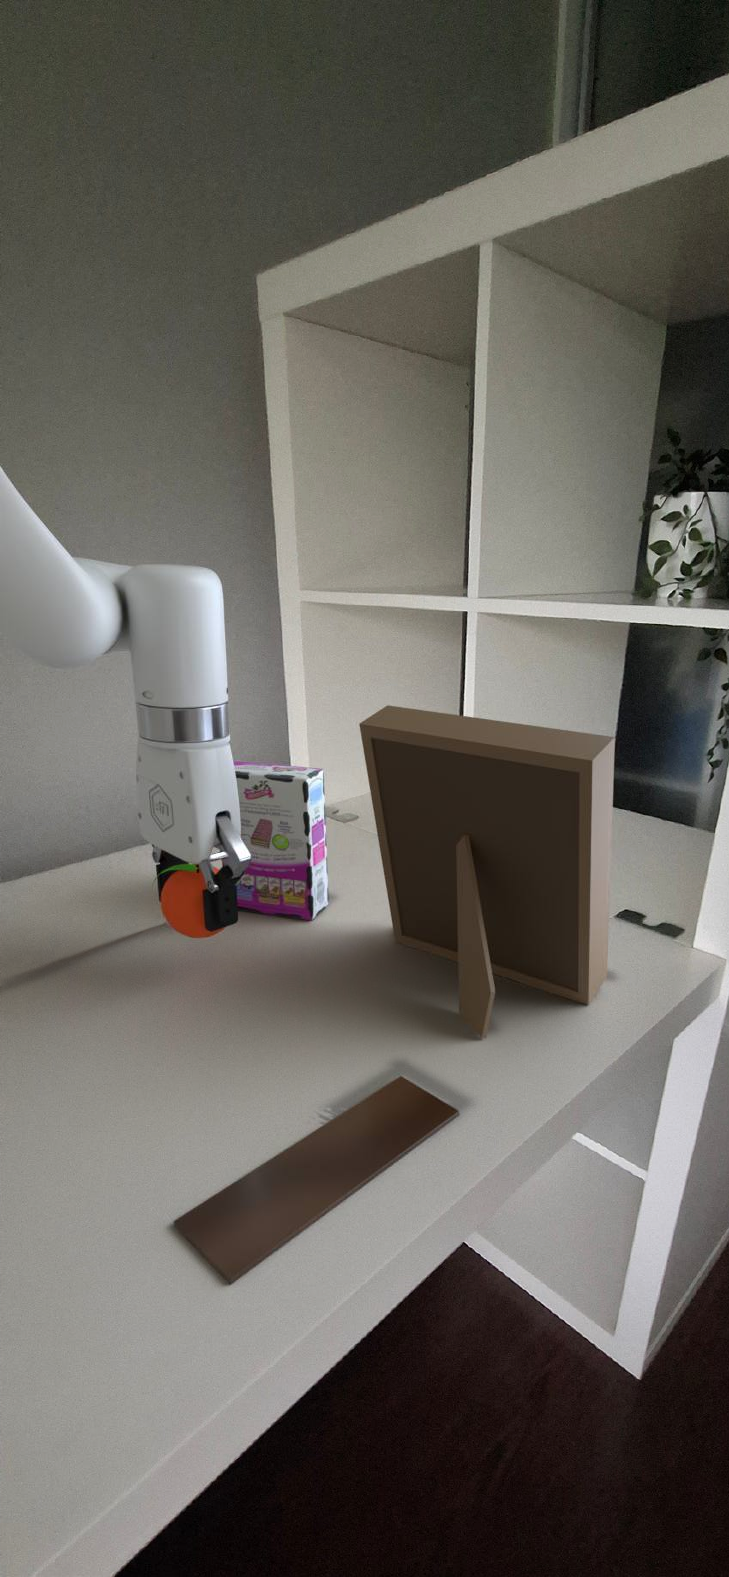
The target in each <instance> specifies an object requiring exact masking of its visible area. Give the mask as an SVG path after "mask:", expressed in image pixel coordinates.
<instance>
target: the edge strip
mask: <svg viewBox="0 0 729 1577" xmlns="http://www.w3.org/2000/svg"><path fill="white" fill-rule="evenodd" d="M459 1116H460V1110H458V1109H457V1108H455V1107H453V1106H452V1105H450V1104H449V1103H447V1102H445V1101H444V1100H442V1099H440V1098H438V1097H437V1096H436V1095H434V1094H431V1093H430V1092H428V1091H427V1090H426V1089H423V1088H422V1087H420V1086H418V1085H417V1084H415V1083H414V1082H413V1081H410V1080H408V1079H407V1078H405V1077H404V1076H402V1075H400V1076H399V1077H397V1078H395V1079H394V1080H392V1081H390V1082H389V1083H387V1084H386V1085H384V1086H383V1087H381V1088H379V1089H378V1090H376V1091H375V1092H373V1093H372V1094H370V1095H368V1096H367V1097H365V1098H364V1099H363V1100H361V1101H360V1102H358V1103H356V1104H355V1105H353V1106H351V1107H350V1108H348V1109H347V1110H345V1111H344V1112H342V1113H341V1114H339V1115H338V1116H336V1117H334V1118H332V1119H331V1120H330V1121H328V1122H326V1123H325V1124H323V1125H322V1126H320V1127H319V1128H317V1129H316V1130H314V1131H312V1132H311V1133H309V1134H308V1135H306V1136H305V1137H303V1138H301V1139H300V1140H298V1141H297V1142H295V1143H294V1144H292V1145H290V1146H289V1147H287V1148H286V1149H284V1150H283V1151H281V1152H279V1153H278V1154H276V1155H275V1156H273V1157H272V1158H270V1159H268V1160H267V1161H266V1162H264V1163H262V1164H260V1165H259V1166H258V1167H255V1168H254V1169H253V1170H251V1171H250V1172H248V1173H247V1174H245V1175H244V1176H242V1177H241V1178H239V1179H236V1181H234V1182H233V1183H231V1184H230V1185H228V1186H226V1187H225V1188H223V1189H222V1190H220V1191H218V1192H217V1193H216V1194H214V1195H212V1196H211V1197H209V1198H207V1199H206V1200H205V1201H203V1202H201V1203H200V1204H199V1205H196V1207H194V1208H192V1209H190V1210H189V1211H187V1212H186V1213H184V1214H182V1215H181V1216H180V1217H178V1218H176V1219H174V1221H173V1226H174V1227H175V1228H176V1229H177V1230H178V1232H180V1233H181V1234H182V1235H183V1237H184V1238H185V1239H187V1241H188V1242H189V1243H190V1244H191V1245H192V1246H193V1247H194V1248H195V1249H196V1250H197V1251H198V1252H199V1253H200V1254H201V1255H202V1257H204V1258H205V1260H207V1262H208V1263H209V1264H210V1265H211V1266H212V1267H213V1268H215V1270H216V1271H217V1272H218V1273H219V1274H220V1275H221V1276H222V1277H223V1278H224V1279H225V1280H226V1281H227V1282H228V1283H229V1284H230V1285H233V1283H235V1282H236V1281H238V1280H239V1279H240V1278H242V1277H243V1276H244V1275H246V1274H248V1272H250V1271H252V1269H254V1268H256V1266H258V1265H259V1264H261V1263H262V1262H263V1261H265V1260H266V1259H268V1258H269V1257H270V1256H271V1255H273V1254H274V1253H276V1252H277V1251H279V1249H281V1248H282V1247H284V1246H285V1245H286V1244H288V1243H289V1242H290V1241H292V1240H293V1239H294V1238H296V1237H297V1236H299V1235H300V1234H301V1233H303V1232H304V1231H305V1230H306V1229H308V1228H309V1227H311V1226H312V1225H313V1224H314V1223H316V1222H317V1221H319V1220H320V1219H321V1218H323V1217H324V1216H326V1215H327V1214H328V1213H329V1212H331V1211H333V1209H335V1208H337V1206H339V1205H340V1204H342V1203H343V1202H345V1201H346V1200H347V1199H348V1198H349V1197H351V1196H352V1195H354V1194H356V1192H358V1191H359V1190H361V1189H362V1188H363V1187H364V1186H366V1185H367V1184H369V1183H370V1182H371V1181H373V1180H374V1179H375V1178H377V1177H378V1176H380V1175H381V1174H383V1173H384V1172H385V1171H386V1170H388V1169H389V1168H390V1167H392V1166H393V1165H394V1164H396V1163H397V1162H398V1161H399V1160H401V1159H403V1158H404V1157H405V1156H406V1155H408V1154H409V1153H411V1152H412V1151H413V1150H414V1149H416V1148H417V1147H419V1146H420V1145H421V1144H422V1143H424V1142H425V1141H426V1140H428V1139H429V1138H431V1137H432V1136H434V1134H436V1133H437V1132H439V1131H440V1130H442V1129H443V1128H444V1127H446V1126H447V1125H448V1124H450V1123H451V1122H452V1121H454V1120H455V1119H456V1118H457V1117H459Z"/></svg>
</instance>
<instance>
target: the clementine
mask: <svg viewBox="0 0 729 1577" xmlns="http://www.w3.org/2000/svg"><path fill="white" fill-rule="evenodd" d="M213 868H214V871H215V874H217V872H218V871H219V870H220V869H219V868H217V867H215V866H213ZM169 870H177V871H176V872H175V873H173V874H172V875H171V876H170V877H169V879H168V880H167V881H166V883H165V884H164V887H163V889H162V892H161V902H160V909H161V913H162V915H163V918H164V919H165V921H166V922H167V924H168V925H169V927H171V928H172V929H173V930H174V931H175V932H177V933H179V934H181V935H183V936H186V937H189V938H193V939H204V938H209V937H213V936H215V935H216V934H219V933H220V932H222V931H223V930H225V929H226V928H227V927H224V928H221V929H218V930H215V931H212V932H210V931H208V930H206V929H205V920H204V906H203V892H202V890H204V889H207V886H206V883H205V880H204V877H203V874H202V871H201V868H200V865H199V863H198V864H191V863H189V864H180V865H175V866H172V867H170V868H168V869H166V870H164V871H162V872H161V873H163V872H166V871H169ZM161 873H160V874H161ZM160 874H159V875H160ZM159 875H158V876H159ZM158 876H157V875H156V877H154V880H153V883H152V885H151V887H152V888H153V886H154V884H155V882H156V881H157V877H158Z"/></svg>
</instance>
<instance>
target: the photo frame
mask: <svg viewBox="0 0 729 1577" xmlns="http://www.w3.org/2000/svg"><path fill="white" fill-rule="evenodd" d="M359 731H360V737H361V743H362V749H363V756H364V761H365V768H366V773H367V778H368V779H367V780H368V785H369V792H370V797H371V805H372V809H373V815H374V821H375V827H376V828H375V829H376V834H377V840H378V846H379V851H380V857H381V864H382V870H383V875H384V882H385V887H386V893H387V894H386V895H387V900H388V905H389V912H390V918H391V923H392V929H393V930H392V931H393V937H394V942H396V943H398V944H402V945H405V946H408V947H411V948H414V949H417V950H420V951H423V952H426V953H429V954H432V955H435V956H438V957H441V958H444V959H446V960H450V961H453V960H454V961H453V962H456V961H457V962H456V963H457V967H458V972H457V973H458V1014H459V1015H460V1016H461V1017H462V1018H463V1019H464V1020H465V1022H467V1024H468V1025H469V1026H470V1027H471V1028H472V1029H473V1030H474V1031H475V1033H477V1035H478V1036H479V1037H480V1038H481V1039H487V1036H488V1032H489V1027H490V1022H491V1021H490V1020H491V1016H492V1011H493V1006H494V1003H495V1002H494V1001H495V998H496V988H495V982H494V975H495V974H497V975H496V976H498V975H500V976H499V977H501V976H502V977H501V978H504V977H505V979H507V978H510V979H512V980H511V981H513V980H515V981H514V982H516V981H517V982H516V983H519V982H520V984H522V983H523V985H526V984H527V985H526V986H528V987H532V988H534V989H538V990H540V991H543V992H547V993H550V994H553V995H556V996H560V997H562V996H563V997H562V998H565V997H566V998H565V999H567V1000H571V1001H573V1002H574V1001H575V1002H577V1003H581V1004H583V1005H587V1006H589V1005H590V1004H591V1002H592V1001H593V999H594V997H595V996H596V995H597V993H598V992H599V990H600V989H601V987H602V985H603V984H604V982H605V981H606V979H607V977H608V957H609V955H608V954H609V930H610V929H609V928H610V927H609V926H610V925H609V924H610V899H611V898H610V894H611V871H612V870H611V867H612V866H611V865H612V862H611V861H612V840H613V839H612V837H613V836H612V835H613V806H614V778H615V777H614V776H615V775H614V774H615V749H616V746H615V745H616V737H615V736H609V735H603V734H596V733H588V732H582V731H574V730H567V729H561V728H553V727H545V726H539V725H538V726H537V725H531V724H523V723H517V722H509V721H502V720H497V719H496V720H495V719H489V718H488V719H487V718H481V717H473V716H466V715H460V714H459V715H458V714H452V713H446V712H445V713H444V712H437V711H432V710H431V711H430V710H423V709H418V708H417V709H416V708H410V707H402V706H396V705H395V706H394V705H389V704H388V705H386V706H384V707H382V708H381V709H380V710H378V711H377V712H375V713H373V714H372V715H370V716H369V717H367V718H366V719H364V720H363V721H361V722H360V723H359ZM492 973H494V974H492ZM510 979H509V980H510Z"/></svg>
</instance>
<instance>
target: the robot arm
mask: <svg viewBox="0 0 729 1577" xmlns="http://www.w3.org/2000/svg"><path fill="white" fill-rule="evenodd" d="M6 474H7V473H5V471H4V469H3V468H2V466H1V465H0V636H1V637H2V638H3V639H4V640H5V641H6V642H7V643H9V644H10V645H11V646H12V647H13V648H15V649H16V650H17V651H18V652H20V653H21V654H23V655H24V656H26V657H27V658H29V659H30V660H32V661H34V662H36V663H38V664H40V665H43V666H46V667H50V668H54V669H66V670H67V669H76V668H80V667H83V666H85V665H88V664H89V663H90V664H91V662H94V661H96V660H97V659H98V658H99V657H101V656H104V655H107V654H110V653H114V652H127V651H129V653H130V661H131V662H130V663H131V668H132V669H131V670H132V672H131V673H132V681H133V693H134V702H135V709H136V710H135V713H136V721H137V724H136V725H137V732H138V735H137V736H138V737H137V746H136V761H135V762H136V763H135V764H136V767H135V772H136V773H135V774H136V776H135V777H136V778H135V779H136V802H137V803H136V805H137V817H138V820H137V821H138V829H139V833H140V836H141V837H142V838H143V839H144V840H145V842H147V843H149V844H150V845H151V846H152V852H151V858H152V860H153V862H154V863H155V871H156V872H155V873H156V877H157V876H158V875H159V874H160V873H161V872H162V871H164V870H166V869H168V868H170V867H172V866H175V865H180V864H199V865H200V868H201V871H202V874H203V877H204V880H205V883H206V886H207V889H204V890H202V892H203V906H204V920H205V929H206V930H208V931H210V932H212V931H215V930H218V929H221V928H224V927H226V928H227V927H231V926H232V925H235V924H237V923H238V922H239V910H238V903H237V885H239V884H240V878H241V877H242V876H243V875H244V872H245V869H246V868H247V866H248V865H249V863H250V862H251V855H250V853H249V851H248V849H247V848H246V846H245V844H244V843H243V841H242V839H241V821H240V807H239V798H238V789H237V781H236V774H235V768H234V763H233V762H234V758H233V754H232V749H231V748H232V747H231V744H230V743H229V742H230V741H231V724H230V703H229V702H230V701H229V685H228V684H229V683H228V666H227V646H226V645H227V644H226V627H225V625H226V622H225V606H224V592H223V586H222V585H223V584H222V582H221V579H220V577H219V575H218V574H217V573H216V572H215V571H214V570H213V569H210V568H208V567H204V566H198V565H185V564H169V563H168V564H166V563H158V564H156V563H144V564H137V565H135V566H134V565H126V564H120V563H119V564H118V563H114V562H113V563H112V562H108V561H101V560H97V559H91V558H87V557H79V556H78V557H77V556H72V555H71V554H70V553H69V552H68V550H66V548H65V547H64V546H63V545H62V544H61V543H60V542H59V540H58V539H57V538H56V536H54V534H53V533H52V532H51V531H50V530H49V528H48V527H47V526H46V525H45V523H44V522H43V521H42V520H41V519H40V518H39V516H38V514H36V513H35V511H34V510H33V509H32V508H31V506H30V505H29V504H28V503H27V501H26V500H25V499H24V498H23V496H22V495H21V494H20V492H19V491H18V489H16V487H15V486H14V484H13V483H12V481H11V480H10V478H9V477H8V475H6ZM213 848H215V849H217V850H219V851H218V852H214V853H212V852H213ZM220 860H221V864H222V863H223V867H221V868H220V869H219V871H218V872H217V874H215V871H214V868H213V867H214V865H213V862H216V861H220ZM176 871H177V870H169V871H166V872H163V873H161V874H160V875H159V876H158V877H157V878H156V882H157V892H158V901H159V903H161V892H162V889H163V887H164V884H165V883H166V881H167V880H168V879H169V877H170V876H171V875H172V874H173V873H175V872H176ZM224 929H225V928H224Z"/></svg>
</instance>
